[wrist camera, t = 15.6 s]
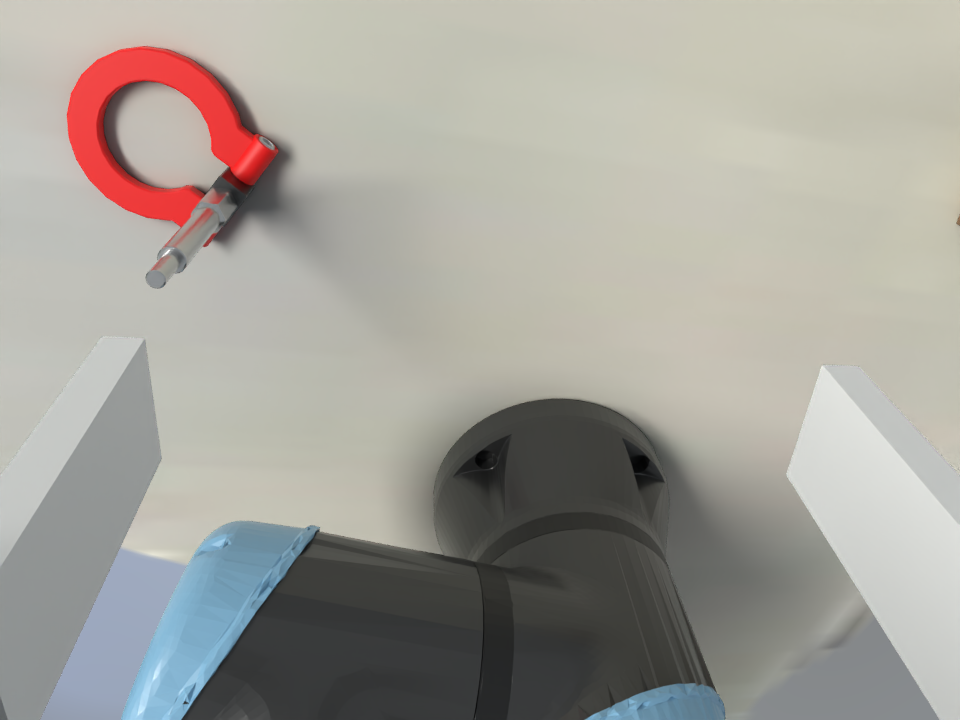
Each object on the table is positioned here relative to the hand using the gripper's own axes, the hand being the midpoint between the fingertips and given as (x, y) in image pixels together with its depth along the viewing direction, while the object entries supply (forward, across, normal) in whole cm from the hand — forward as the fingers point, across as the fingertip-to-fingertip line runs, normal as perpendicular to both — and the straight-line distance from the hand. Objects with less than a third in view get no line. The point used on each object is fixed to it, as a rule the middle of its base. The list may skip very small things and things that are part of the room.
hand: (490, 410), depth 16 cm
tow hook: (+29, +14, +3) cm, 32 cm away
